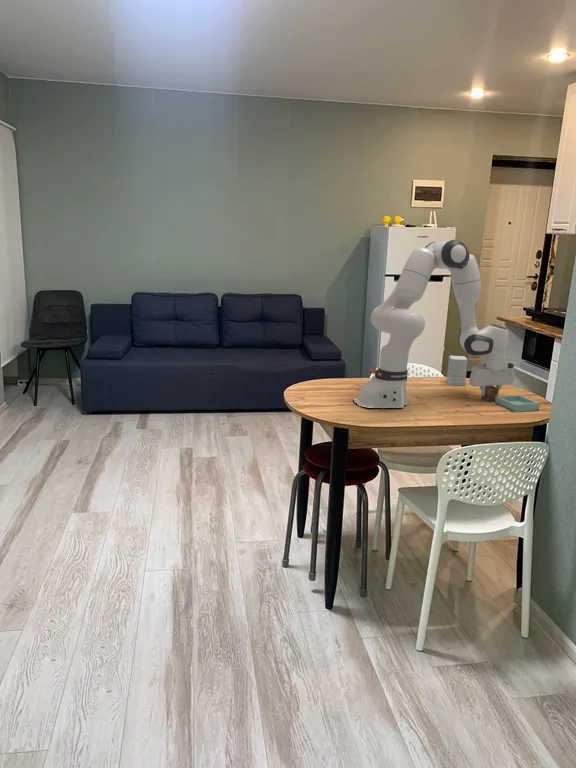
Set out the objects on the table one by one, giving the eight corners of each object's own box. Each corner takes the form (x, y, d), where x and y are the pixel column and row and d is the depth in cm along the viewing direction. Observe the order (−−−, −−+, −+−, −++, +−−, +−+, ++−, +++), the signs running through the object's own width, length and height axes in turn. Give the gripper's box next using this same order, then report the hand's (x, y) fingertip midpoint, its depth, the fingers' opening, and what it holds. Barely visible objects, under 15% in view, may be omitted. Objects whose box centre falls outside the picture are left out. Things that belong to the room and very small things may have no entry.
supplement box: (462, 382, 273) (465, 356, 270) (465, 386, 266) (468, 359, 263) (446, 381, 274) (448, 355, 271) (448, 385, 267) (451, 358, 264)
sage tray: (514, 412, 230) (515, 405, 230) (494, 403, 241) (495, 396, 240) (538, 410, 234) (539, 403, 233) (518, 401, 245) (519, 394, 244)
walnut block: (487, 401, 243) (489, 388, 242) (481, 398, 247) (482, 386, 246) (496, 400, 245) (498, 388, 243) (490, 397, 249) (491, 385, 247)
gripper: (477, 366, 236) (473, 398, 239) (518, 364, 242) (514, 395, 246) (468, 362, 241) (464, 394, 245) (508, 360, 248) (504, 391, 252)
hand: (489, 395), depth 245 cm, fingers closed on walnut block, 4 cm apart
